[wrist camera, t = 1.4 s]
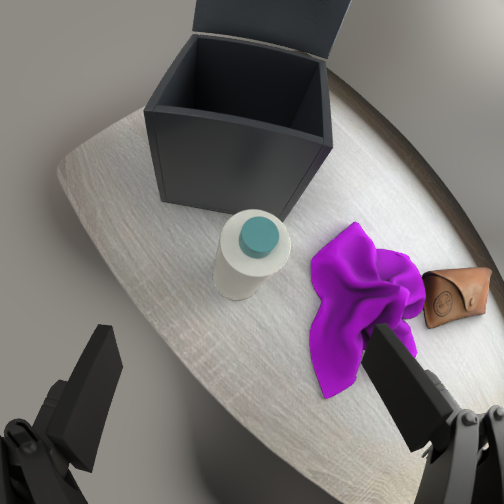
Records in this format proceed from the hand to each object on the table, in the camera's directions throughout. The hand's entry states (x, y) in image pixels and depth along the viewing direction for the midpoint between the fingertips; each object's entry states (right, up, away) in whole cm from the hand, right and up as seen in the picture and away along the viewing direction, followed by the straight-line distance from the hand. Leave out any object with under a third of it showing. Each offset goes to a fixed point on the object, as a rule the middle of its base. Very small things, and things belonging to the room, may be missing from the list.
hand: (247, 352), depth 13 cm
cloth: (+15, -3, +19) cm, 24 cm away
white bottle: (-1, +2, +18) cm, 18 cm away
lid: (+2, +30, +4) cm, 30 cm away
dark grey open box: (-3, +16, +22) cm, 27 cm away
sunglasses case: (+33, -2, +23) cm, 40 cm away
